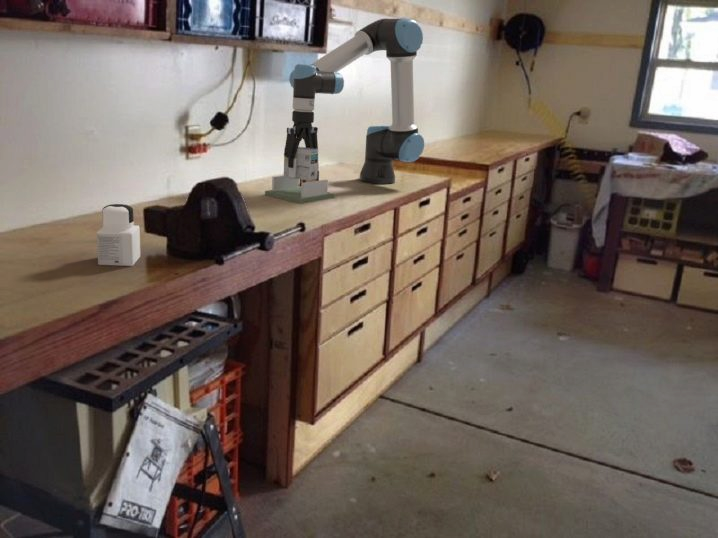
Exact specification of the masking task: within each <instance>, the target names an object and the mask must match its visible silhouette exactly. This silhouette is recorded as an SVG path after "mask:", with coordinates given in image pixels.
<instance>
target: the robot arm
mask: <svg viewBox="0 0 718 538" xmlns="http://www.w3.org/2000/svg"><path fill="white" fill-rule="evenodd" d="M423 40H424V34H423V30H422V28H421V26H420V24H419V23H418V22H417V21H416V20H414V19H411V18H404V17H403V18H380V19H377V20H375V21H373V22H371V23H369V24H367V25H366V26H363V27H362V28H360V29H359V30H358V31H356V32H355V33H354V35H353V37H351V38H350V39H348V40H347V41H345V42H344V43H342V44H341V45H338V46H337V47H335V48H334V49H333V50H331V51H330V52H328V53H326V54H325V55H323V56H322V57H320V58H319V59H317V60H315V61H314V62H312V63H310V64H306V63H305V64H304V63H303V64H302V63H297V64H296V65H294V70H292V71H291V72H290V75H289V79H288V80H289V84H290V86H291V87H292V90H293V91H292V95H293V96H292V109H293V111H292V113H291V114H292V116H291V120H292V123H293V125H292V127H287V128H286V139H285V146H284V149H285V151H284V150H283V151H284V153H283V157H284V156H285V157H286V158H288V167H289V177H293V178H296V159H294V158H295V155H296V152H297V149H298V147H300V143H301V141H302V140H303V141H304V146H305V148H314V149H318V150H319V143H318V131H319V128H318V127H317V126H313V125H312V124H313V123H314V121H315V113H314V110H315V101H316V100H315V98H316V94H325V95H327V94H328V95H336V94H340V93H342V91H343V89H344V86H345V84H344V83H345V80H344V76H343V75H342V74H341V73H340V72H339V71H341V70H342V69H344V68H346V67H347V66H349V65H350V64H352V63H353V62H355V61H356V60H357V59H360V58H361V57H362V56H364V55H366V56H369V55H370V54H372V53H374V52H379V51H385V54H386V58H387V59H388V60H389V62H390V83H391V84H390V87H391V88H390V89H391V119H392V124H390V125H372V126H371V125H370V126H368V127H367V131H366V135H365V137H366V138H365V155H364V157H365V158H364V163H363V165H362V167H361V171H360V174H359V179H358V180H359V181H361V182H365V183H367V184H368V183H369V184H379V185H384V184H385V185H390V184H389V183H391V184H394V183H396V173H395V169H394V167H393V166H394V165H393V162H394V160H395V161H400V162H403V163H407V162H408V163H413V162H415V161H417V160H419V158H420V157H421V155H422V154H423V152H424V148H425V140H424V137H423V135H422V134H420V133H419V127H418V125H417V124H416V123H415V111H414V110H415V105H414V104H415V103H414V100H415V99H414V60H415V58H416V57H417V54H418V51H419V50H420V48H421V47H422V45H423Z"/></svg>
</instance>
